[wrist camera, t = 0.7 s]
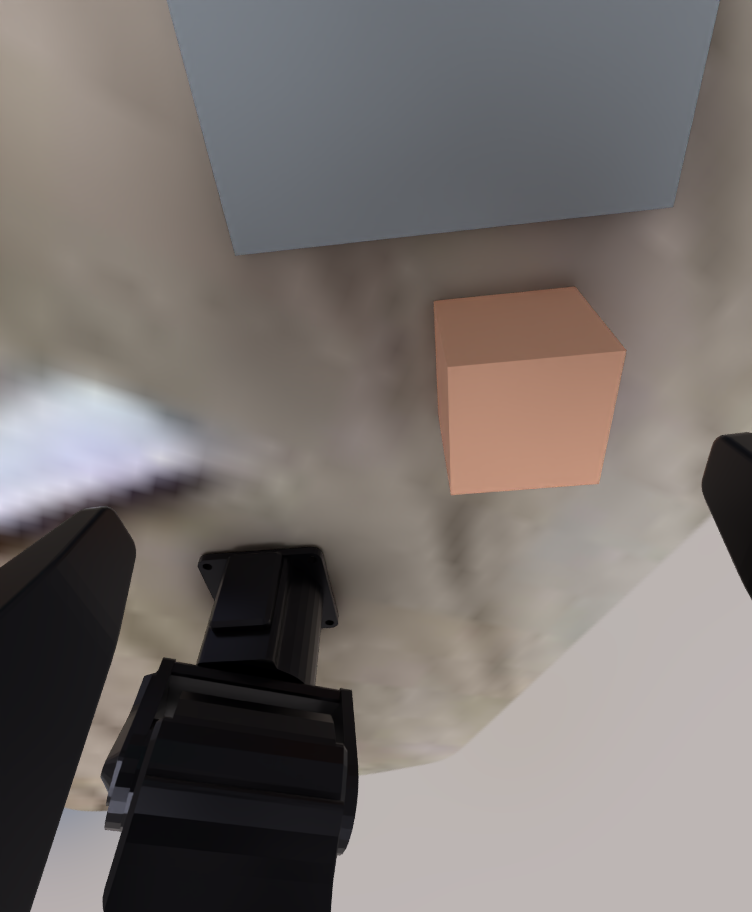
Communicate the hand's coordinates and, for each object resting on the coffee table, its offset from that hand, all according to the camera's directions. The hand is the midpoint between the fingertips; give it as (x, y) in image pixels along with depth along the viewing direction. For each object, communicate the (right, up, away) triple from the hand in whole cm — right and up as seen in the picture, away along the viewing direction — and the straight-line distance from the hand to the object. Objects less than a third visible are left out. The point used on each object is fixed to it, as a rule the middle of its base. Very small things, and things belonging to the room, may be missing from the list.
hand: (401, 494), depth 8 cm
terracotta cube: (+5, +4, +12) cm, 14 cm away
